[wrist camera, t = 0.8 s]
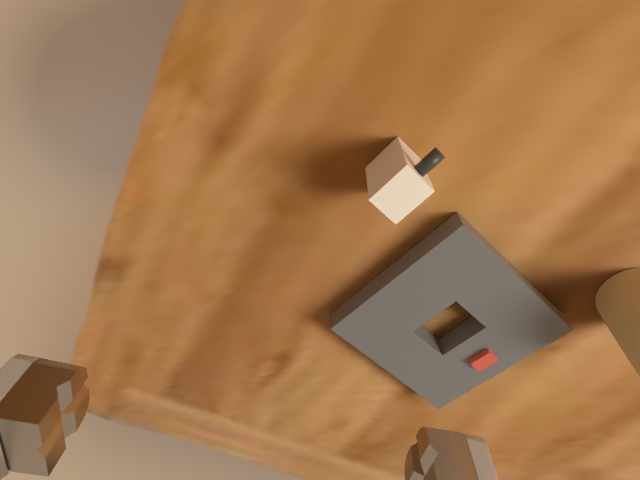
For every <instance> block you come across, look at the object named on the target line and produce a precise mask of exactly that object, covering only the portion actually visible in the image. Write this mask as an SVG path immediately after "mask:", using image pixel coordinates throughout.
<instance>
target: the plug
mask: <svg viewBox="0 0 640 480" xmlns="http://www.w3.org/2000/svg"><path fill="white" fill-rule="evenodd" d="M444 158H445V157H444V155H443V154H442V153H441V152H440V151H439V150H438V149H437V148H436V147H435V148H434V149H433V150H432V151H431V152H430V153H429V154H427V155H426V156H425V157H424V158H423V159H422V160H421V159H420V158H419V157H418V156H417V155H416V154H415V153H414V152H413V151H412V150H411V149H410V148H409V147H408V146H407V145H406V144H405V143H404V142H403V141H402V140H401V139H400V138H399V137H396V138H395V139H394V140H393V141H392V142H391V143H390V144H389V145H388V146H387V147H386V148H385V149H384V150H383V151H382V152H381V153H380V154H379V155H378V156H377V157H376V158H375V159H374V160H373V161H372V162H371V163H369V164H368V165H367V166H366V167H365V168H366V178H367V189H368V199H369V201H370V202H371V203H372V204H374V205H375V206H376V207H377V208H378V209H379V210H380V211H381V212H383V213H384V214H385V215H386V216H387V217H388V218H389V219H390V220H391V221H393V222H394V223H395V224H397V223H398V222H399V221H400V220H402V219H403V218H404V217H405V216H406V215H408V214H409V213H410V212H411V211H412V210H413V209H415V208H416V207H417V206H418V205H419V204H420V203H422V202H423V201H424V200H425V199H426V198H427V197H429V196H430V195H431V194H432V193H433V192H434V188H433V186H432V184H431V181H430V179H429V177H428V174H427V173H428V172H429V171H430V170H431V169H433V168H434V167H435V166H436V165H437V164H438V163H439V162H441V161H442V160H443V159H444Z"/></svg>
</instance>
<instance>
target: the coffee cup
mask: <svg viewBox="0 0 640 480" xmlns="http://www.w3.org/2000/svg"><path fill="white" fill-rule="evenodd" d="M595 305H596V308H597V310H598V312H599V314H600V315H601V317H602V319H603V320H604V322H605V324H606V325H607V327H608V328H609V330H610V331H611V333H612V335H613V336H614V338H615V339H616V341H617V342H618V344H619V346H620V347H621V349H622V350H623V352H624V353H625V355H626V356H627V358H628V359H629V361H630V363H631V364H632V366H633V367H634V369H635V370H636V372H637V373H638V375H639V376H640V268H633V269H628V270H625V271H622V272H619V273H617V274H615V275H613V276H612V277H610V278H609V279H608V280H606V281H605V282H604V283H603V284H602V285H601V287H600V288H599V290H598V292H597V294H596V297H595Z"/></svg>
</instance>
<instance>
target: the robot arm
mask: <svg viewBox="0 0 640 480" xmlns="http://www.w3.org/2000/svg"><path fill="white" fill-rule="evenodd" d="M87 378H88V376H87V369H86V367H81V366H76V365H72V364H67V363H62V362H57V361H52V360H47V359H42V358H37V357H31V356H27V355H21V354H17V355H15V356H14V357H12V358H10V359H9V360H8V361H7V362H6V364H5V365H4V366H3V367H2V368H1V369H0V479H2V478H3V477H5V476H6V475H7V474H8V471H12V472H19V473H27V474H34V475H42V476H49V475H50V473H51V472H52V470H53V469H54V467H55V465H56V464H57V462H58V460H59V459H60V457H61V456H62V454H63V452H64V451H65V449H66V447H65V439H64V438H66V437H67V436H68V435H70V434H72V433H74V432H75V431H77V429H78V427H79V426H80V424H81V422H82V420H83V419H84V416H85V413H86V411H87V408H88V404H89V390H88V389H87V387H86V386H85V385H84V382H85V381H86V379H87ZM416 437H417V443H416V444H414V445H412V446H410V449H409V451H408V453H407V456H406V462H405V480H498V477H497V474H496V471H495V468H494V465H493V462H492V459H491V456H490V453H489V450H488V447H487V444H486V441H485V440H484V439H483V437H479V436H473V435H468V434H461V433H459V432H453V431H447V430H441V429H435V428H428V427H422V428H420V429H419V431H418V433H417V435H416Z"/></svg>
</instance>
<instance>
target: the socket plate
mask: <svg viewBox="0 0 640 480" xmlns="http://www.w3.org/2000/svg"><path fill="white" fill-rule="evenodd" d="M454 302H457V303H459V304H460V305H461V306H462V307H463V308H464V309H465V310H467V311H468V312H469V313H470V314H471V315H472V316H471V317H470V318H468V319H467V320H465V321H464V322H462V323H461V324H459V325H458V326H456V327H455V328H453V329H452V330H450V331H449V332H447V333H446V334H444V335H443V336H441V337H440V338H437V337H436V336H434V335H433V334H432V333H431V332H429V331H428V330H427V329H426V328H425V327H423V326H422V325H423V324H424V323H426V322H427V321H429V320H430V319H432V318H433V317H434V316H436V315H437V314H439V313H440V312H442V311H443V310H444V309H446V308H447V307H449V306H450V305H452V304H453V303H454ZM330 330H332V331H333V332H335V333H336V334H337V335H339V336H340V337H341V338H343V339H344V340H345V341H347V342H348V343H350V344H351V345H352V346H354V347H355V348H356V349H358V350H359V351H360V352H362V353H363V354H364V355H366V356H367V357H369V358H370V359H371V360H373V361H374V362H375V363H377V364H378V365H379V366H381V367H382V368H383V369H385V370H386V371H388V372H389V373H390V374H392V375H393V376H394V377H396V378H397V379H398V380H400V381H401V382H402V383H404V384H405V385H407V386H408V387H409V388H411V389H412V390H413V391H415V392H416V393H417V394H419V395H420V396H421V397H423V398H424V399H426V400H427V401H428V402H430V403H431V404H432V405H434V406H435V407H436V408H438V409H439V408H441V407H442V406H444V405H446V404H447V403H449V402H451V401H452V400H454V399H456V398H458V397H459V396H461V395H463V394H464V393H466V392H468V391H470V390H471V389H473V388H475V387H476V386H478V385H480V384H481V383H483V382H485V381H487V380H488V379H490V378H492V377H493V376H495V375H497V374H499V373H500V372H502V371H504V370H505V369H507V368H509V367H510V366H512V365H514V364H516V363H517V362H519V361H521V360H522V359H524V358H526V357H528V356H529V355H531V354H533V353H534V352H536V351H538V350H539V349H541V348H543V347H545V346H546V345H548V344H550V343H551V342H553V341H555V340H557V339H558V338H560V337H562V336H563V335H565V334H567V333H568V332H570V331H572V328H571V327H570V325H569V323H568V322H567V320H566V319H565V317H564V316H563V314H562V313H561V312H560V311H559V310H558V309H557V308H556V307H555V306H554V305H553V304H552V303H551V302H550V301H549V300H548V299H547V298H546V297H544V296H543V295H542V294H541V293H540V292H539V291H538V290H537V289H536V288H535V287H534V286H533V285H532V284H531V283H530V282H529V281H528V280H527V279H526V278H525V277H524V276H523V275H522V274H521V273H520V272H519V271H518V270H517V269H516V268H515V267H514V266H513V265H511V264H510V263H509V262H508V261H507V260H506V259H505V258H504V257H503V256H502V255H501V254H500V253H499V252H498V251H497V250H496V249H495V248H494V247H493V246H492V245H491V244H490V243H489V242H488V241H487V240H486V239H485V238H484V237H483V236H482V235H481V234H479V233H478V232H477V231H476V230H475V229H474V228H473V227H472V226H471V225H470V224H469V223H468V222H467V221H466V220H465V219H464V218H463V217H462V216H461V215H460V214H459V213H458V212H456V213H455V214H453V215H452V216H451V217H450V218H449V219H447V220H446V221H445V222H444V223H442V224H441V225H440V226H439V227H437V228H436V229H435V230H434V231H432V232H431V233H430V234H429V235H427V236H426V237H425V238H424V239H422V240H421V241H420V242H419V243H418V244H416V245H415V246H414V247H413V248H411V249H410V250H409V251H408V252H406V253H405V254H404V255H403V256H401V257H400V258H399V259H398V260H396V261H395V262H394V263H393V264H391V265H390V266H389V267H388V268H386V269H385V270H384V271H383V272H382V273H380V274H379V275H378V276H377V277H375V278H374V279H373V280H372V281H370V282H369V283H368V284H367V285H365V286H364V287H363V288H362V289H360V290H359V291H358V292H357V293H355V294H354V295H353V296H352V297H351V298H349V299H348V300H347V301H346V302H344V303H343V304H342V305H341V306H339V307H338V308H337V309H336V310H334V311H333V312H332V313H331V324H330Z"/></svg>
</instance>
